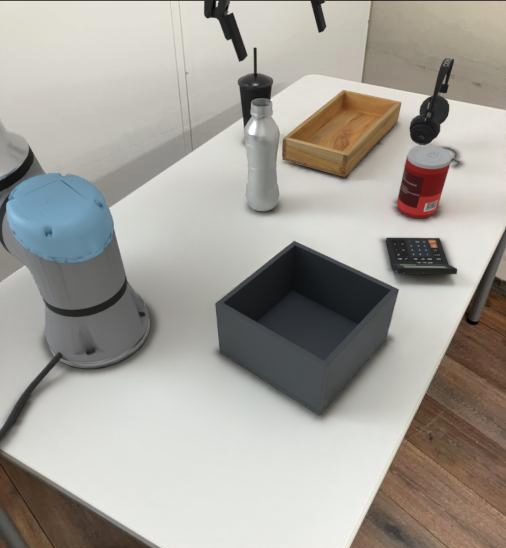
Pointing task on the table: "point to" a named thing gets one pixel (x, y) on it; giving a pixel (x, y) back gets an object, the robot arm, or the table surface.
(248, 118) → the drinking cup
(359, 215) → the table surface
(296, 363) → the bin
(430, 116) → the headphones
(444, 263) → the calculator
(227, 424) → the table surface
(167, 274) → the table surface
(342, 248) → the table surface
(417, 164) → the canned food
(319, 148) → the tray
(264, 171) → the plastic bottle
